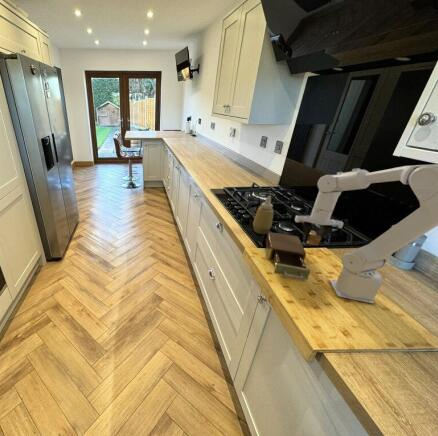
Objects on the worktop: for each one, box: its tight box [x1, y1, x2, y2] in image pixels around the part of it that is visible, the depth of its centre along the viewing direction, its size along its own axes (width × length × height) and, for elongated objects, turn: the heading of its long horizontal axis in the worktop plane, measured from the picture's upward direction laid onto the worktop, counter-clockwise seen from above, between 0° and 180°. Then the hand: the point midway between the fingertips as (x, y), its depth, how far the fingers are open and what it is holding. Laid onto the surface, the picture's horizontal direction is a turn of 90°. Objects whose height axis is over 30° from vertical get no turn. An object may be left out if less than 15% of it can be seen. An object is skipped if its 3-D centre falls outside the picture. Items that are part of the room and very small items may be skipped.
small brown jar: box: [306, 229, 321, 246], centre depth 88 cm, size 4×5×4 cm
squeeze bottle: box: [252, 195, 275, 235], centre depth 109 cm, size 8×8×18 cm
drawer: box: [273, 250, 311, 282], centre depth 85 cm, size 17×10×4 cm, turn 161°
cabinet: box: [264, 231, 307, 262], centre depth 96 cm, size 14×12×6 cm
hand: (311, 241), depth 89 cm, fingers closed on small brown jar, 3 cm apart
